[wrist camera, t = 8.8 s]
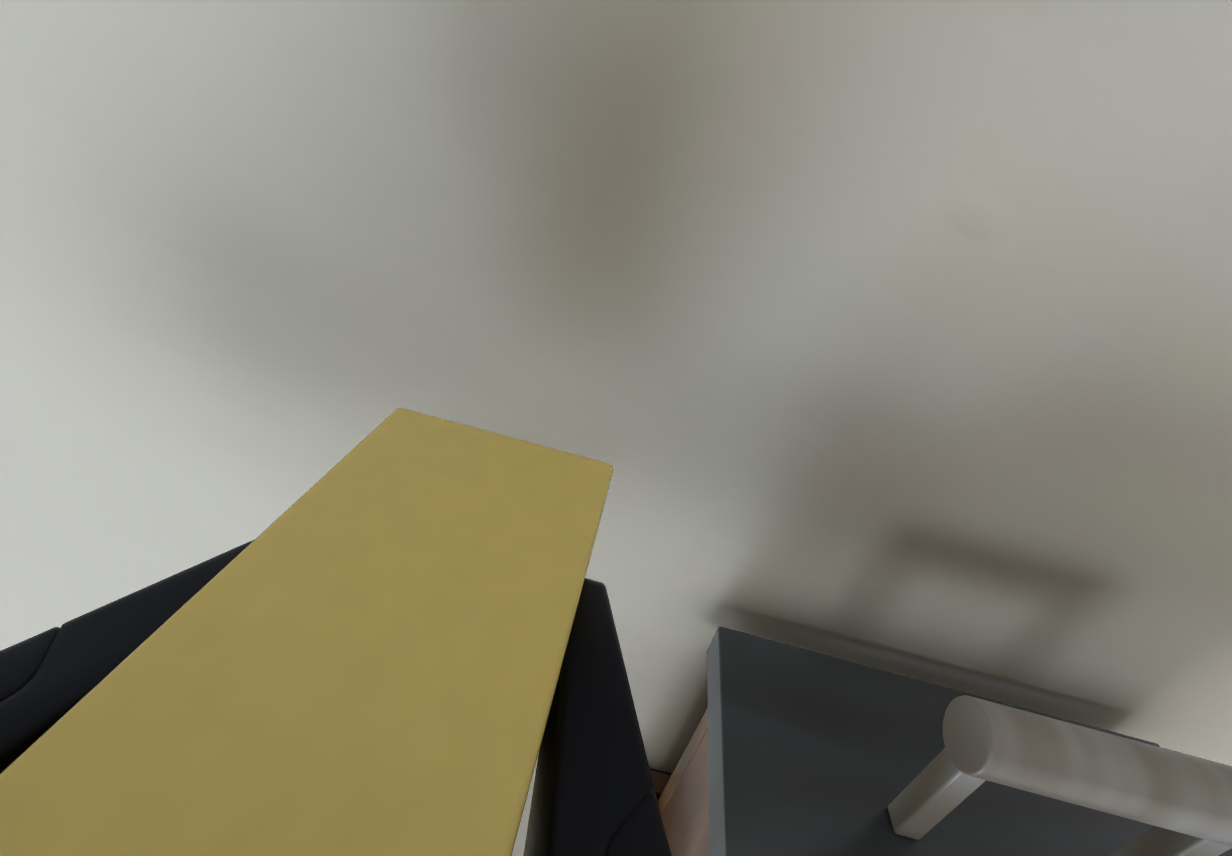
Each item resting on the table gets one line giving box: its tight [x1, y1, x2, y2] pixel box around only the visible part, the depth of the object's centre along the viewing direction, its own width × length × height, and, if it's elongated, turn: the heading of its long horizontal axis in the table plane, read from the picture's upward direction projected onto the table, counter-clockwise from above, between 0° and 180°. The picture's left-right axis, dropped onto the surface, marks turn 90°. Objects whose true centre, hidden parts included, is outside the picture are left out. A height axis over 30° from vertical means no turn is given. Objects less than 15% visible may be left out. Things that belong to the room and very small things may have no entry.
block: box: [0, 408, 613, 856], centre depth 7 cm, size 4×4×7 cm
